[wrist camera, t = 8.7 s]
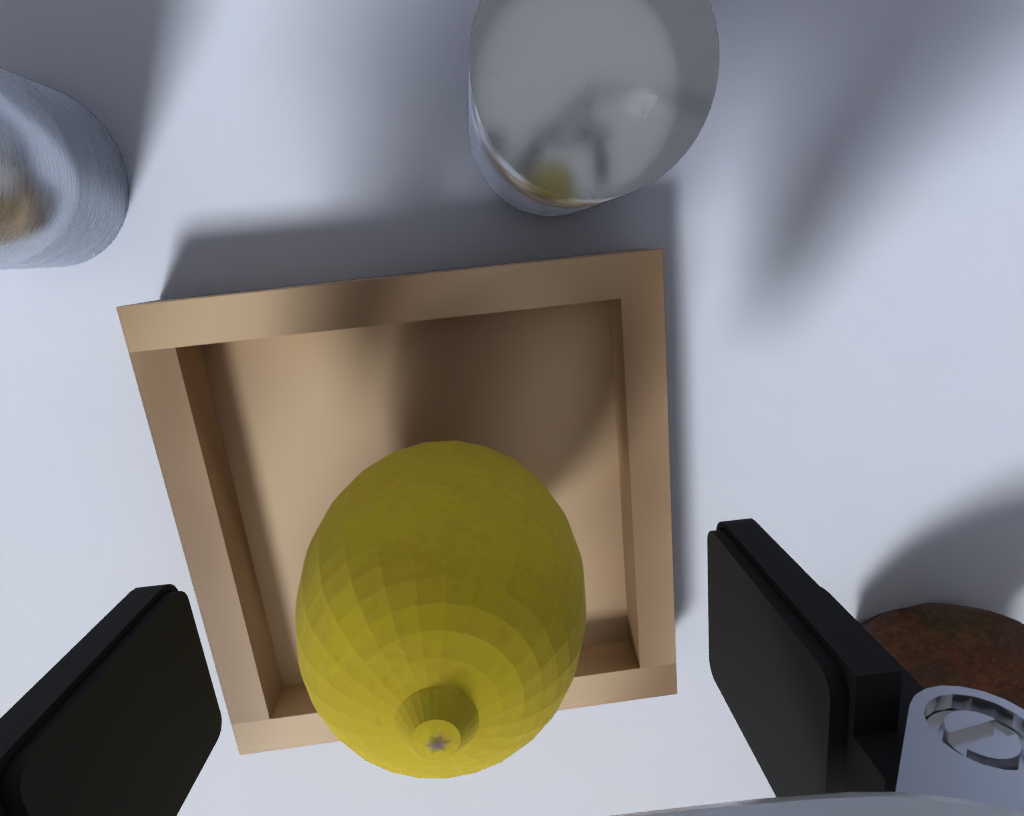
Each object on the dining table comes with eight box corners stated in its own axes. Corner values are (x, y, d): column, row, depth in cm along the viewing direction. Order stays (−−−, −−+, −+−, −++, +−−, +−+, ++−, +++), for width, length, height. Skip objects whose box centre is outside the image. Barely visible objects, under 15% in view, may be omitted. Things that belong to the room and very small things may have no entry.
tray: (640, 249, 15) (662, 248, 13) (657, 651, 18) (676, 693, 16) (158, 300, 14) (116, 306, 13) (262, 705, 18) (239, 754, 16)
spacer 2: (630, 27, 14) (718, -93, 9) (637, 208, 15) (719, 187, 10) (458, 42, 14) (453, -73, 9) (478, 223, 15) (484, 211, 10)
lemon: (379, 614, 16) (303, 934, 9) (318, 429, 15) (160, 621, 7) (572, 567, 17) (663, 845, 9) (530, 378, 15) (596, 515, 7)
